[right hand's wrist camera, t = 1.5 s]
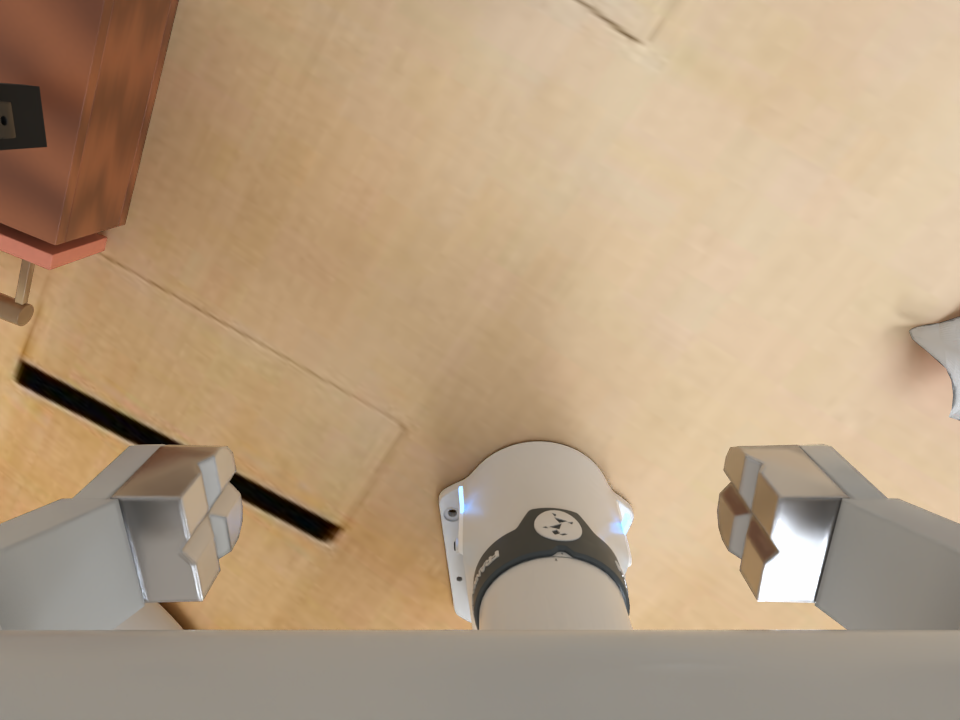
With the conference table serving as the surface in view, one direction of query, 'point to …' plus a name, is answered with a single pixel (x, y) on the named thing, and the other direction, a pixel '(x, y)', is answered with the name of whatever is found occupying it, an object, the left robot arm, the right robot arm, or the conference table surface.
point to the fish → (943, 352)
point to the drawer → (40, 255)
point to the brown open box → (80, 109)
